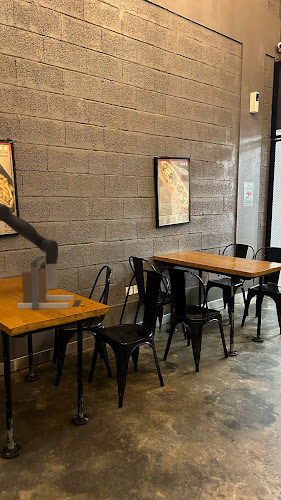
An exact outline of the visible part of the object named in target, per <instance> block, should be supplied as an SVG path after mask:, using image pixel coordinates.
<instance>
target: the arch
mask: <svg viewBox="0 0 281 500" xmlns="http://www.w3.org/2000/svg"><path fill="white" fill-rule="evenodd" d="M38 267H40V268H38ZM30 268H31V283H32V308H31V310H39V309H40V308H39V303H38V269H45V287H46V295H48V292H47V291H48V289H47V284H46V255H45V256H43V255H42V256H41V255H40V256H39V257H38V258H36V259H34V260H33V261H31V262H30Z"/></svg>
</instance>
